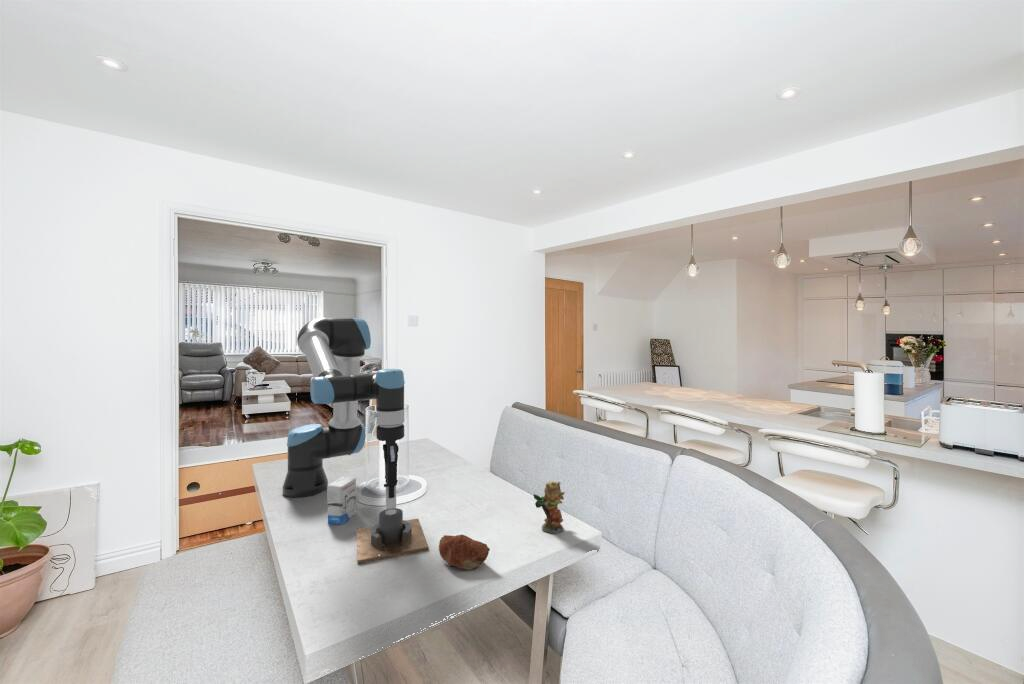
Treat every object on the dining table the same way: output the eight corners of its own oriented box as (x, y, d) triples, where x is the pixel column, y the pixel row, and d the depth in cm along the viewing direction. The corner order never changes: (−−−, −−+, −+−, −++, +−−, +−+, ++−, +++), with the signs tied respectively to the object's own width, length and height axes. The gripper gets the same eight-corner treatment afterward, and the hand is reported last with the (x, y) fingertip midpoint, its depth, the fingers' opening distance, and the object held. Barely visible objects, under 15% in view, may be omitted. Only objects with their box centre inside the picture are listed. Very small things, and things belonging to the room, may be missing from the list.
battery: (378, 534, 119) (378, 508, 118) (401, 530, 121) (401, 505, 121) (380, 545, 113) (379, 518, 112) (404, 540, 115) (404, 514, 115)
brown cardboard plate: (356, 531, 122) (356, 520, 122) (418, 521, 129) (418, 510, 129) (357, 564, 105) (357, 550, 105) (428, 550, 112) (428, 537, 112)
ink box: (341, 525, 126) (340, 486, 126) (326, 523, 127) (326, 485, 127) (357, 512, 135) (356, 477, 134) (343, 511, 136) (343, 475, 135)
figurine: (566, 525, 126) (567, 477, 126) (561, 537, 119) (561, 486, 119) (538, 521, 129) (538, 473, 129) (531, 532, 122) (531, 482, 122)
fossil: (429, 545, 108) (452, 514, 108) (450, 548, 114) (471, 517, 114) (454, 584, 99) (478, 550, 99) (475, 585, 105) (498, 552, 105)
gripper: (375, 420, 121) (375, 500, 121) (378, 430, 108) (378, 519, 109) (401, 418, 123) (401, 496, 124) (407, 428, 111) (407, 514, 112)
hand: (391, 507), depth 117 cm, fingers closed
